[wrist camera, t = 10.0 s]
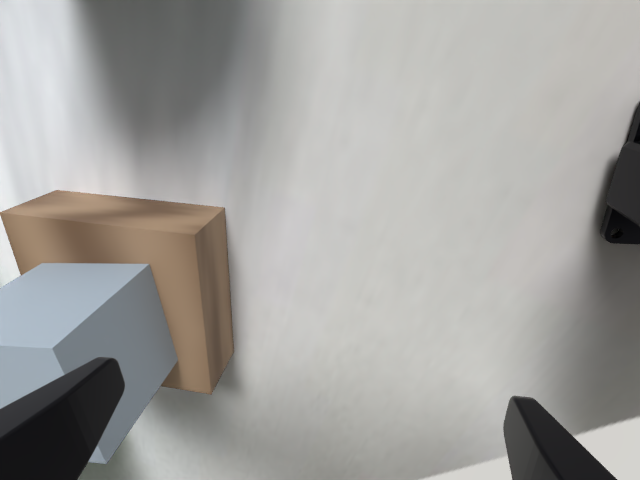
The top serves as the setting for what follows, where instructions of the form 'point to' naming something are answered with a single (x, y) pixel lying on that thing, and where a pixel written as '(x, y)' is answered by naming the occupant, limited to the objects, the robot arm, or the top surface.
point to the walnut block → (143, 248)
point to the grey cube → (85, 334)
